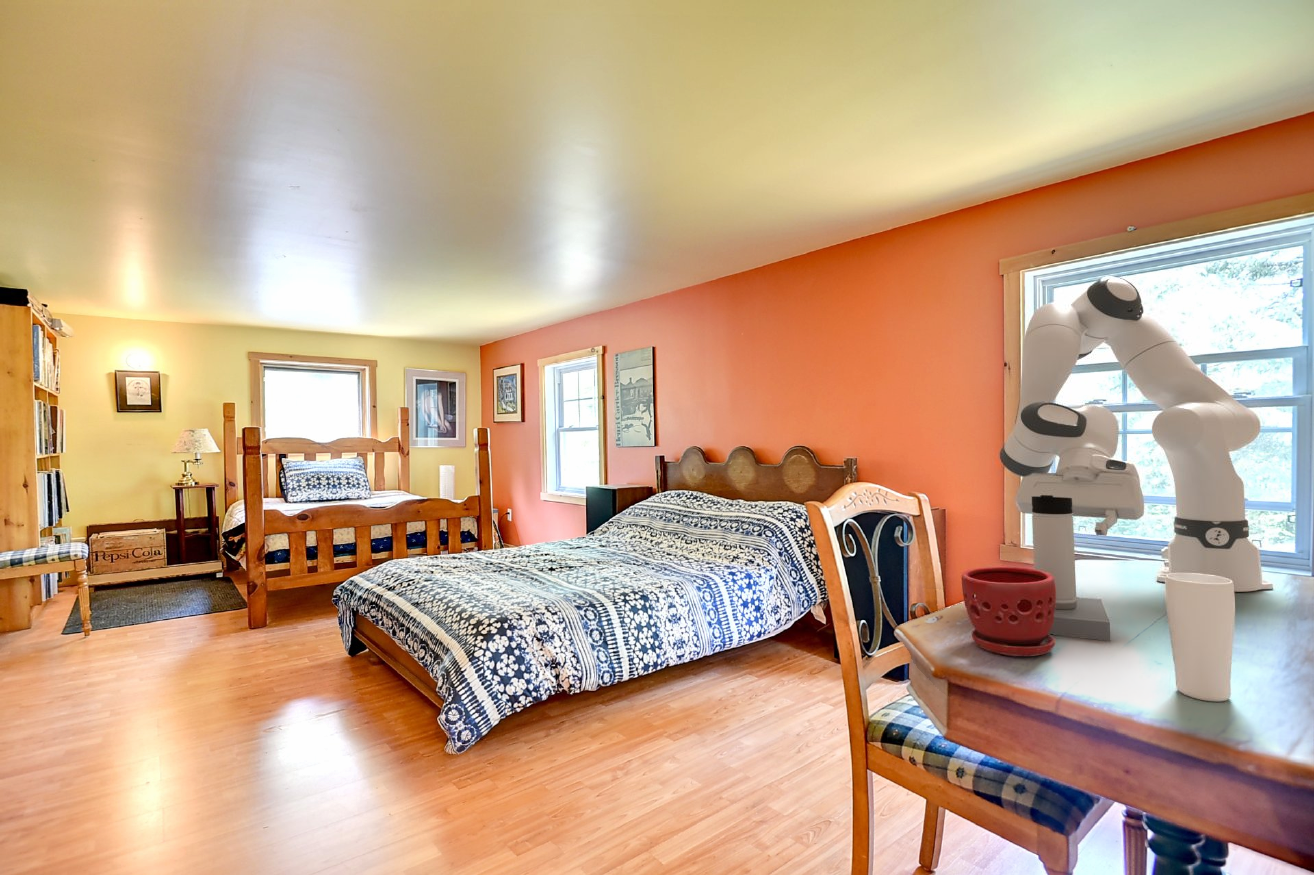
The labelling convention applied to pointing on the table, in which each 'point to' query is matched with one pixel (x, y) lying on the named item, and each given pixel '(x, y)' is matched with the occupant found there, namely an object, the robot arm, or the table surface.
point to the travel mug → (1055, 545)
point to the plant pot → (1010, 609)
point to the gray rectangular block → (1082, 620)
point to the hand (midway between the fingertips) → (1069, 531)
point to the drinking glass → (1201, 633)
